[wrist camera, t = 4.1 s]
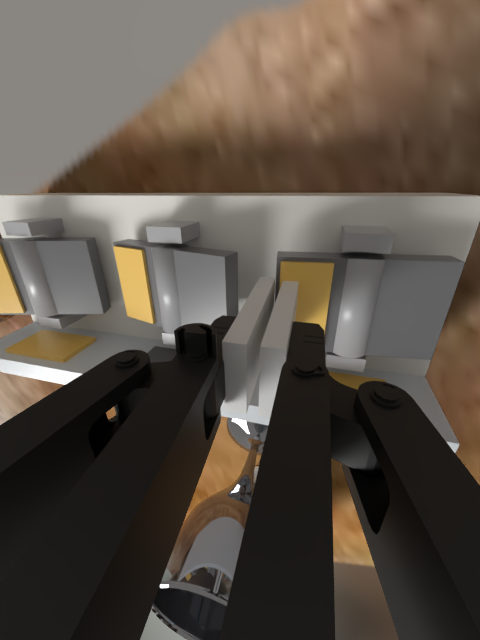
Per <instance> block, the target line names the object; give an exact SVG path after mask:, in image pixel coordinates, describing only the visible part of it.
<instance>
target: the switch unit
mask: <svg viewBox="0 0 480 640" xmlns="http://www.w3.org/2000/svg"><path fill="white" fill-rule="evenodd" d="M479 221H480V195H468V194H457V193H32V194H6V195H0V233H1V236H2V238H26V237H46V238H76V237H95V240H96V244H97V248H98V253H99V257H100V261H101V266H102V270H103V274H104V279H105V283H106V288H107V292H108V296H109V301H110V305H111V308H110V309H109V310H108V311H107V312H106V313H105V314H58V315H54V316H49V317H38V316H36V315H31V317H32V319H33V323H31V324H29V325H27V326H25V327H23V328H21V329H19V330H17V331H15V332H13V333H11V334H8V335H6V336H4V337H2V338H0V372H4V373H9V374H14V375H19V376H24V377H29V378H34V379H39V380H44V381H49V382H54V383H59V384H64V385H66V384H67V383H69V382H71V381H72V380H74V379H75V378H77V377H79V376H80V375H82V374H84V373H85V372H87V371H88V370H90V369H92V368H93V367H95V366H96V365H98V364H100V363H101V362H103V361H104V360H106V359H108V358H109V357H111V356H113V355H115V354H117V353H119V352H123V351H126V350H142V351H144V352H146V353H148V355H149V357H150V362H151V363H152V362H166V361H172V359H173V358H174V357H175V355H176V354H177V352H176V344H175V336H174V334H168V333H166V332H164V330H163V328H162V327H159V326H156V325H152V324H149V323H146V322H143V321H139V320H136V319H133V318H130V317H128V316H127V312H126V307H125V302H124V297H123V292H122V287H121V283H120V278H119V273H118V268H117V263H116V258H115V253H114V248H113V246H114V244H113V242H116V241H121V240H126V239H134V240H143V241H148V242H159V243H181V244H187V245H188V246H192V247H201V248H209V249H217V250H225V251H234V252H238V314H239V312H240V310H241V309H242V307H243V305H244V304H245V302H246V300H247V298H248V297H249V295H250V293H251V292H252V290H253V288H254V287H255V285H256V283H257V282H258V280H259V278H260V277H271V278H275V285H276V265H277V253H278V251H288V252H326V253H345V252H370V253H376V254H404V255H442V256H453V257H455V258H457V259H459V260H461V261H464V262H466V259H467V256H468V253H469V250H470V247H471V244H472V241H473V239H474V236H475V233H476V230H477V227H478V224H479ZM274 305H275V294H274ZM443 325H444V324H443ZM325 359H326V368H327V369H328V372H329V375H330V376H331V377H332V378H333V379H335V380H336V381H338V382H339V383H341V384H344V385H346V386H349V387H352V388H354V389H357V390H358V388H359V386H360V385H361V384H363V383H365V382H368V381H382V382H387V383H390V384H393V385H396V386H398V387H399V388H401V389H403V390H405V391H406V392H407V393H408V394H409V395H410V396H411V397H412V398H413V399H414V400H415V402H416V403H417V404H418V406H419V407H420V408H421V409H422V411H423V412H424V413H425V415H426V416H427V417H428V419H429V420H430V421H431V423H432V424H433V425H434V426H435V428H436V429H437V430H438V432H439V433H440V434H441V436H442V437H443V438H444V440H445V441H446V442H447V444H448V445H449V446H450V447H451V449H452V450H453V451H454V453H456V451H457V449H458V447H459V442H458V440H457V438H456V436H455V434H454V432H453V430H452V428H451V426H450V424H449V422H448V420H447V418H446V417H445V415H444V413H443V411H442V409H441V407H440V405H439V403H438V401H437V399H436V397H435V395H434V393H433V391H432V389H431V387H430V385H429V384H428V382H427V380H426V378H425V376H426V373H427V370H428V367H429V365H430V362H431V360H425V359H412V358H399V357H386V356H373V355H364V356H362V357H358V358H347V357H342V356H339V355H337V354H335V353H333V352H325ZM259 375H260V371H259V374H258V378H257V381H256V384H255V388H254V391H253V394H252V397H251V401H250V404H249V407H248V411H247V414H244V413H238V412H232V411H227V410H225V399H224V401H223V403H222V406H221V416H224V417H229V418H234V419H239V420H244V421H249V422H254V423H259V424H264V425H269V421H270V418H266V417H261V416H258V415H259Z"/></svg>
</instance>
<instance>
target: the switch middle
mask: <svg viewBox="0 0 480 640" xmlns="http://www.w3.org/2000/svg"><path fill="white" fill-rule="evenodd" d="M113 244H114V246H113V248H114V253H115V258H116V263H117V268H118V273H119V278H120V283H121V287H122V292H123V297H124V302H125V307H126V312H127V316H128V317H130V318H133V319H136V320H139V321H143V322H146V323H149V324H152V325H156V326H159V327H162V328H163V330H164V332H166V333H168V334H174V330H176V329H177V328H178V327H180V326H183V325H186V324H191V323H204V324H209V325H211V324H212V322H213V321H214V320H215V319H217V318H219V317H221V316H222V315H225V316H235V317H237V315H238V252H234V251H225V250H217V249H209V248H201V247H192V246H188V245H187V244H181V243H159V242H148V241H143V240H134V239H126V240H121V241H116V242H113Z"/></svg>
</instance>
